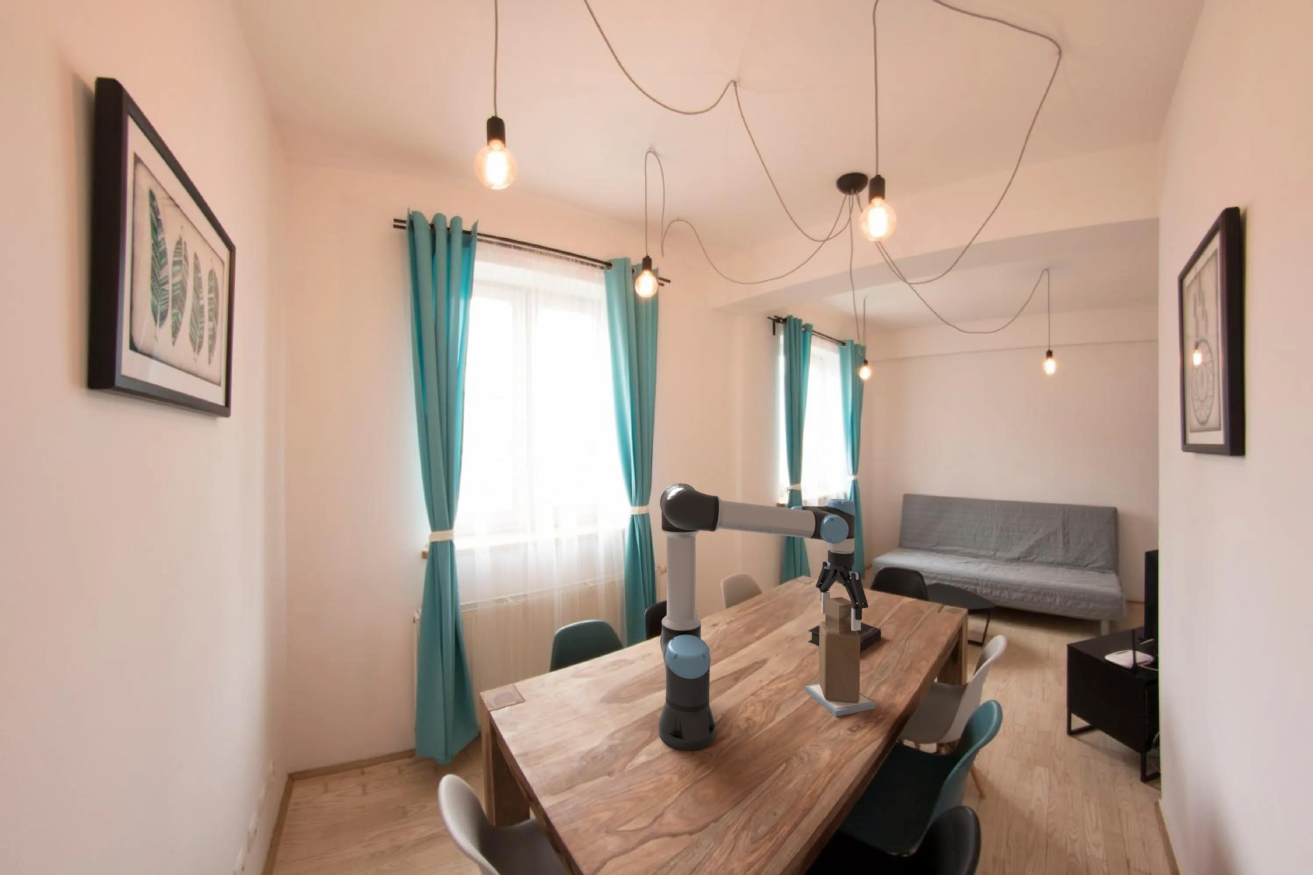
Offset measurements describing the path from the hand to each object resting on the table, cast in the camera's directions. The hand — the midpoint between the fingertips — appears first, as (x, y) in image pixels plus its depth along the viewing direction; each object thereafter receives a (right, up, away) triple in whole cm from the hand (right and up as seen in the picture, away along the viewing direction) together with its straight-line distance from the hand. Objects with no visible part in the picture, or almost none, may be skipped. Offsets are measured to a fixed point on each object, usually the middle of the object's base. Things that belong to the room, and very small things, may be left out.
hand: (840, 621), depth 140 cm
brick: (0, -2, 0) cm, 2 cm away
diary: (+18, -25, +42) cm, 52 cm away
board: (0, -24, 0) cm, 24 cm away
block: (-1, -22, 0) cm, 22 cm away
